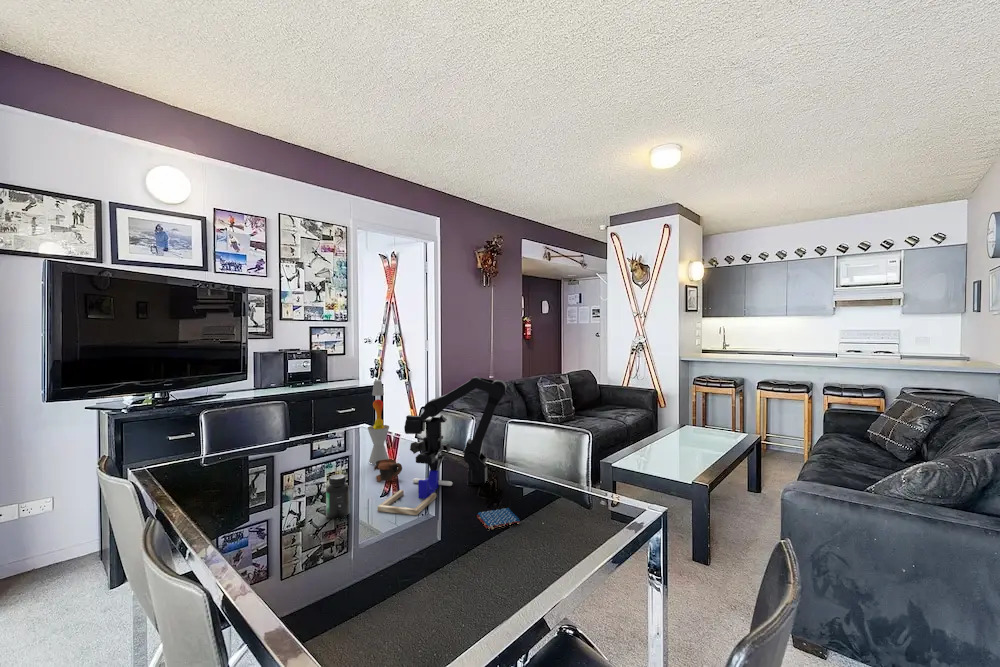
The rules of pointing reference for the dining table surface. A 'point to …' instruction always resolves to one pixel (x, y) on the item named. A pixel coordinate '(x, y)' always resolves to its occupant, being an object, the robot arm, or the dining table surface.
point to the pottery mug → (387, 469)
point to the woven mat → (497, 518)
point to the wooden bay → (402, 510)
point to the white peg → (446, 483)
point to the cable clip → (428, 485)
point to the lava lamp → (378, 427)
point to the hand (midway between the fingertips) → (434, 476)
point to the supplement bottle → (337, 497)
